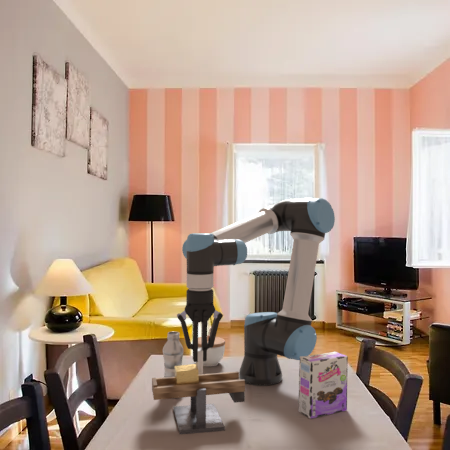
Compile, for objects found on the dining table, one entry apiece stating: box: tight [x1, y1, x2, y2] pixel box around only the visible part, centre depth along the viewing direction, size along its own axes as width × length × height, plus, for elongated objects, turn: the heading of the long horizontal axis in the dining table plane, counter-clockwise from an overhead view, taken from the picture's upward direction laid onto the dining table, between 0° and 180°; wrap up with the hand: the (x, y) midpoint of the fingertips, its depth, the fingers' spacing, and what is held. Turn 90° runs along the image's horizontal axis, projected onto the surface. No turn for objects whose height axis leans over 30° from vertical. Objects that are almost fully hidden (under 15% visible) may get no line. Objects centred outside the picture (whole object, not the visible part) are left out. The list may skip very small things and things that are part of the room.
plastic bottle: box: [162, 331, 184, 378], centre depth 150 cm, size 6×7×20 cm
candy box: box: [298, 351, 349, 420], centre depth 140 cm, size 14×6×16 cm, turn 117°
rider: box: [174, 363, 199, 385], centre depth 132 cm, size 6×5×5 cm
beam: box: [151, 371, 246, 404], centre depth 133 cm, size 25×9×7 cm, turn 102°
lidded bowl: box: [198, 334, 226, 367], centre depth 184 cm, size 13×13×11 cm
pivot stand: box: [172, 388, 226, 435], centre depth 133 cm, size 12×16×10 cm
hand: (199, 372), depth 133 cm, fingers closed
